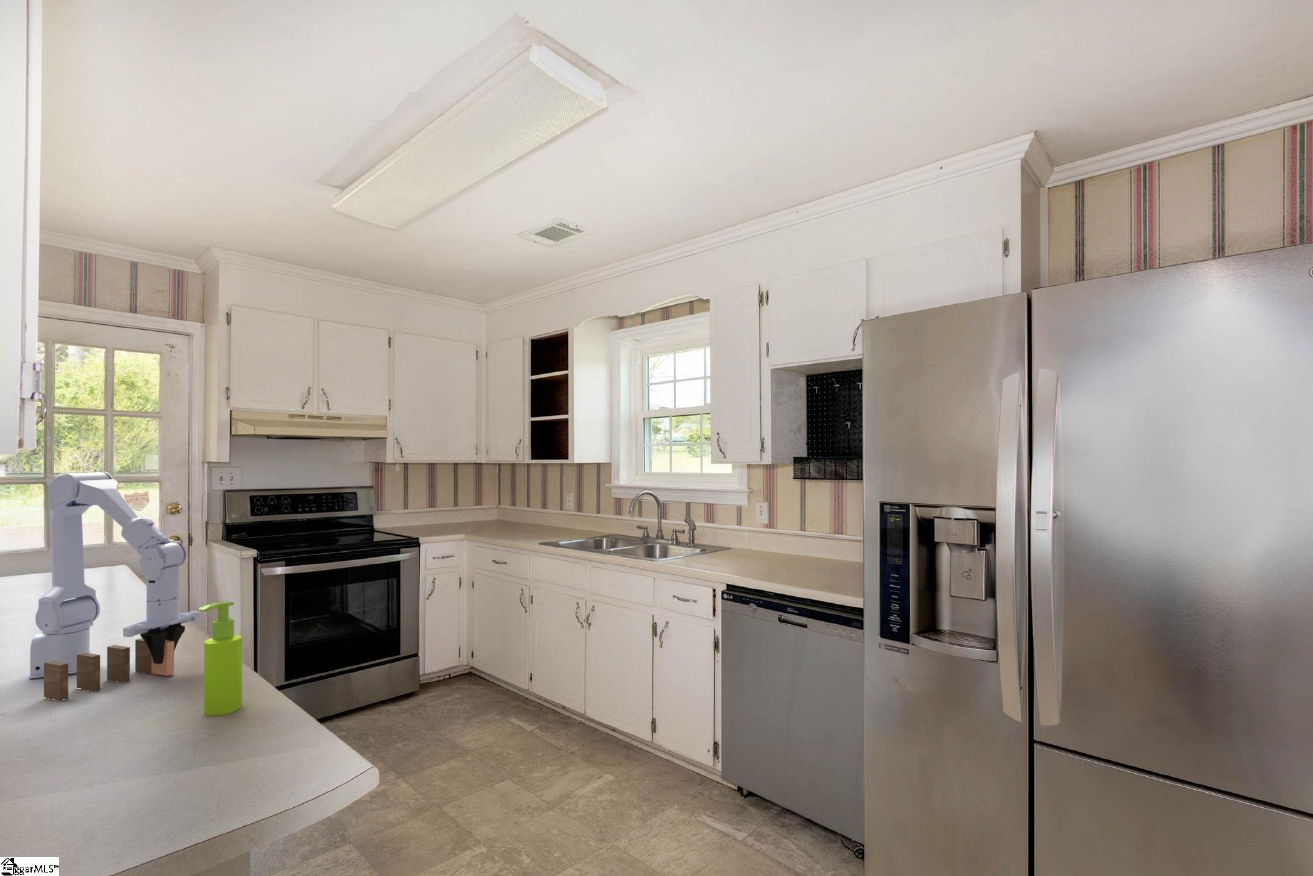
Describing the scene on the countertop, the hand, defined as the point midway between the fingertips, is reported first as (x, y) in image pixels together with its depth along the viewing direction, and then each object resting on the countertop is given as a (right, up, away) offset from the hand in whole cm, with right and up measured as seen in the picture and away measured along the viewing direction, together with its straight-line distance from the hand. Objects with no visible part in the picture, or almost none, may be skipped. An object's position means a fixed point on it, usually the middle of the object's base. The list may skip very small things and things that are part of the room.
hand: (162, 661), depth 143 cm
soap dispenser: (+26, -2, -20) cm, 33 cm away
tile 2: (-5, -3, +2) cm, 6 cm away
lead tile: (0, -3, 0) cm, 2 cm away
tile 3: (-7, -3, -3) cm, 8 cm away
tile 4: (-9, -3, -8) cm, 12 cm away
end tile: (-11, -3, -13) cm, 17 cm away
